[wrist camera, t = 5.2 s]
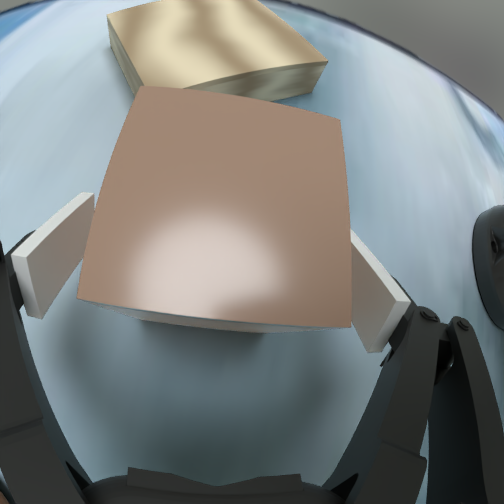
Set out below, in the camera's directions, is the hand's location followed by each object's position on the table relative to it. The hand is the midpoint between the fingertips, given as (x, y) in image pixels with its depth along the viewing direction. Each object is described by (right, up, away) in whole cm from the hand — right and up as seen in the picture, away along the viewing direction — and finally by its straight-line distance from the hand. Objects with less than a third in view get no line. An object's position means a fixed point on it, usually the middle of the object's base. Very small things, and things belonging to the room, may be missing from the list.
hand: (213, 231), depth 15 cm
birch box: (-3, +18, +10) cm, 21 cm away
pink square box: (-1, -2, +4) cm, 5 cm away
